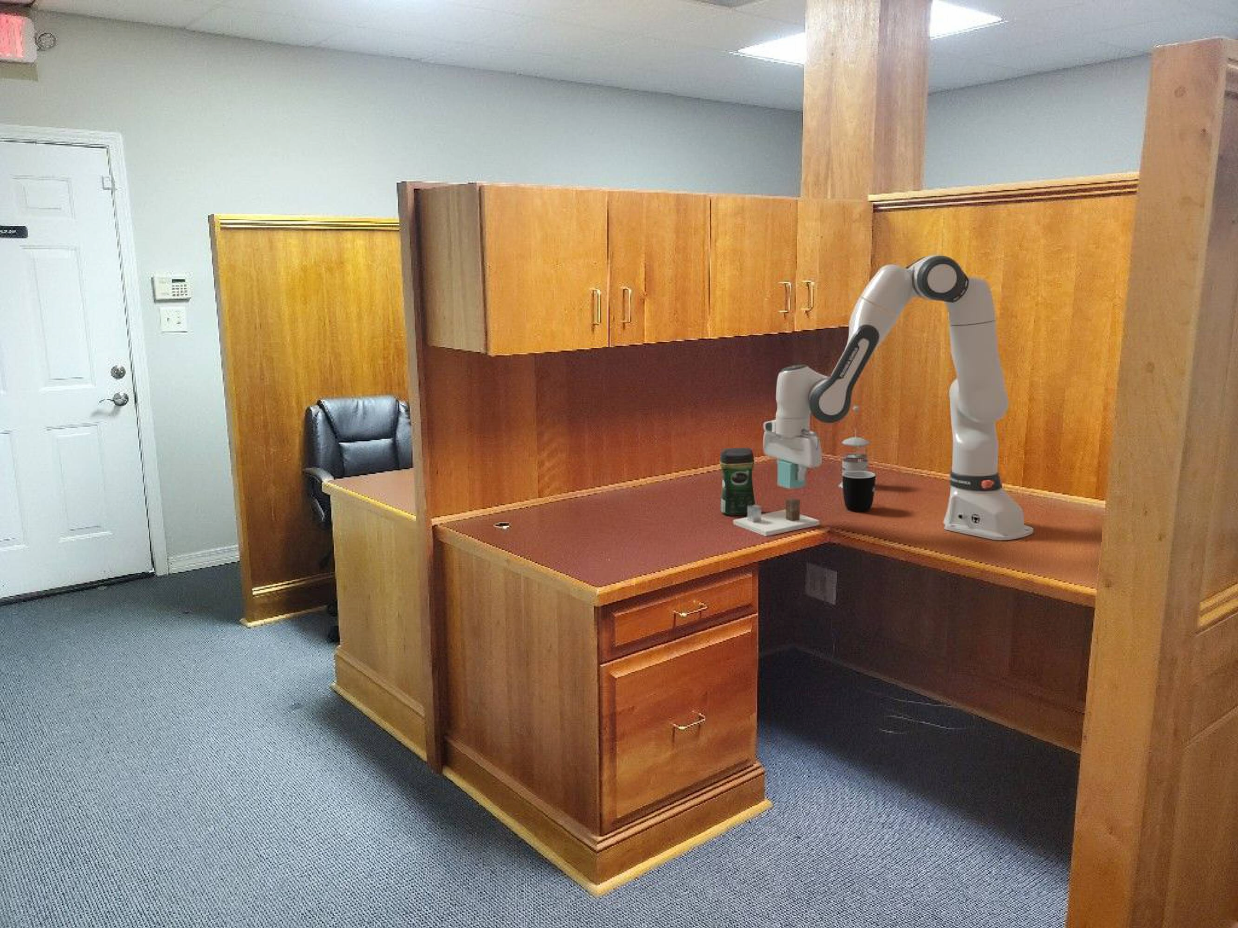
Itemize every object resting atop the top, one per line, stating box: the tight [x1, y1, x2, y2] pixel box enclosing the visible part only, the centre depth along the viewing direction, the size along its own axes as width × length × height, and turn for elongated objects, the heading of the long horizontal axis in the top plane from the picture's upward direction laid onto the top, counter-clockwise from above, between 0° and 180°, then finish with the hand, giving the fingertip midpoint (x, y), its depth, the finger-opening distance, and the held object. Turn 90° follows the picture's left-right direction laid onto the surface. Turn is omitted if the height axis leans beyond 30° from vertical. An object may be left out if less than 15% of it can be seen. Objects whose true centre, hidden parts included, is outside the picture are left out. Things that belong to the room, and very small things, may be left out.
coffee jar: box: [719, 447, 756, 516], centre depth 272 cm, size 10×8×19 cm
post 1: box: [746, 504, 762, 523], centre depth 261 cm, size 3×3×4 cm
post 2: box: [785, 497, 801, 521], centre depth 260 cm, size 3×3×6 cm
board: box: [732, 509, 820, 537], centre depth 261 cm, size 14×18×1 cm
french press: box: [838, 405, 870, 489], centre depth 298 cm, size 10×12×25 cm
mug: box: [841, 470, 876, 513], centre depth 274 cm, size 12×9×10 cm
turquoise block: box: [776, 460, 807, 490], centre depth 258 cm, size 5×5×7 cm
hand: (791, 478), depth 259 cm, fingers closed on turquoise block, 5 cm apart
